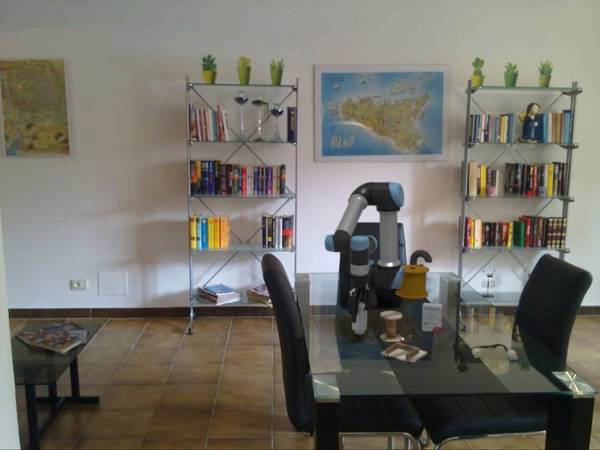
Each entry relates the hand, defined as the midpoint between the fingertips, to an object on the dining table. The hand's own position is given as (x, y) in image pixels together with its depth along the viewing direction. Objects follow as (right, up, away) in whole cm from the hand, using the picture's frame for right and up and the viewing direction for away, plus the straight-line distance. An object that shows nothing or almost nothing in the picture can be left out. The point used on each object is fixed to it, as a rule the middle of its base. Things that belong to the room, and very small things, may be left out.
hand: (359, 326), depth 208 cm
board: (+16, -8, -13) cm, 22 cm away
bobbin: (+14, -6, +3) cm, 15 cm away
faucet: (+48, +8, +96) cm, 107 cm away
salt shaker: (0, -3, 0) cm, 3 cm away
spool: (+38, +4, +69) cm, 79 cm away
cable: (+51, -8, -11) cm, 53 cm away
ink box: (+34, -4, +14) cm, 37 cm away
